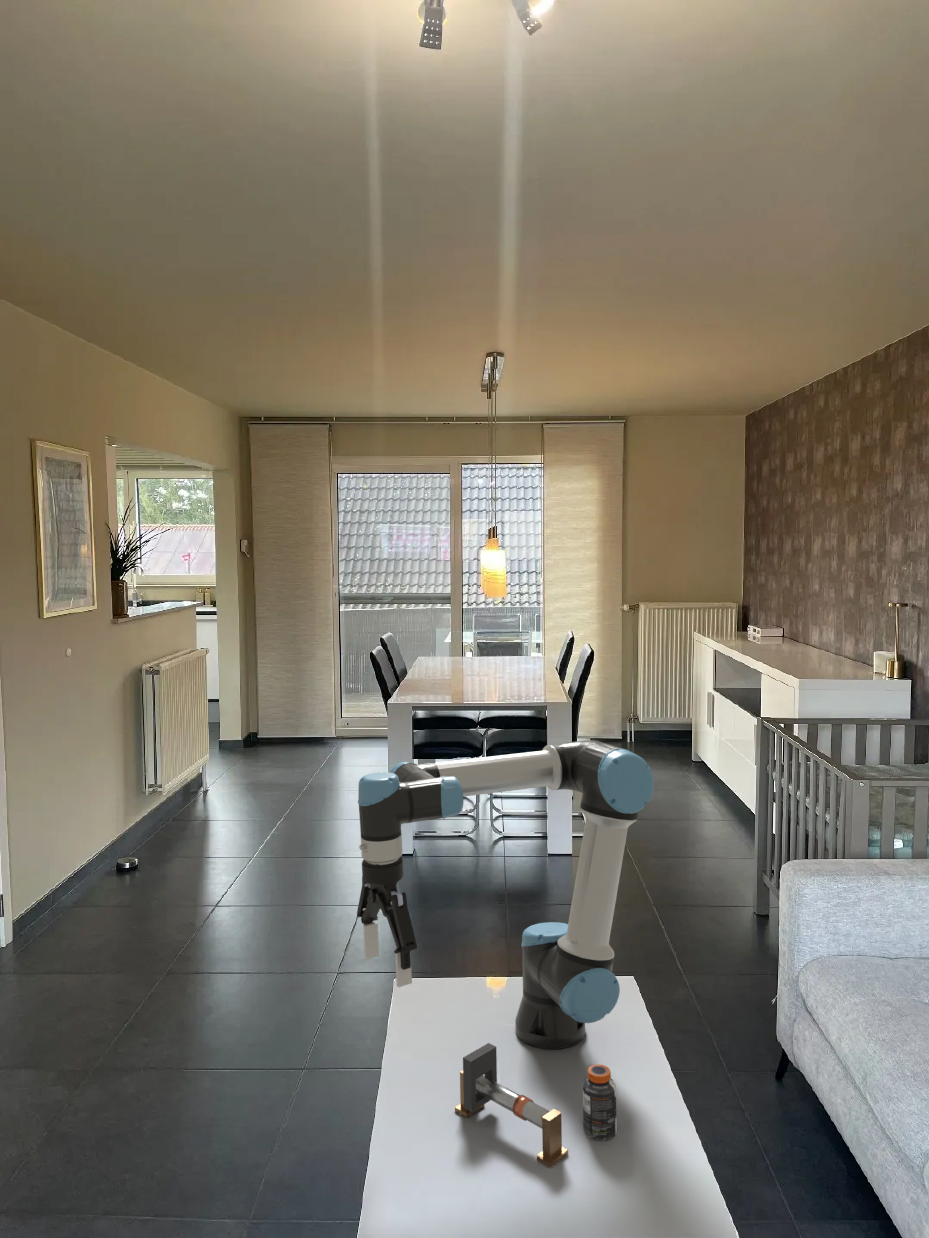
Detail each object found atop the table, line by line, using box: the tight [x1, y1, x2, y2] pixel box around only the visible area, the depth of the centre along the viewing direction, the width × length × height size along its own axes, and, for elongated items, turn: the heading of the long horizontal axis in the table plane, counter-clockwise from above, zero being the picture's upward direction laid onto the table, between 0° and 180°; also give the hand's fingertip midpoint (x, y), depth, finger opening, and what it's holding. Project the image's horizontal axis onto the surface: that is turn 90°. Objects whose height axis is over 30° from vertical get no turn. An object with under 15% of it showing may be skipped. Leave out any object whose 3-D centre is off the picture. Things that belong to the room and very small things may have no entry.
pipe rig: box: [454, 1069, 569, 1169], centre depth 157 cm, size 23×5×8 cm, turn 45°
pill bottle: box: [582, 1063, 618, 1141], centre depth 157 cm, size 6×6×11 cm
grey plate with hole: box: [462, 1042, 498, 1112], centre depth 162 cm, size 2×7×9 cm, turn 135°
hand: (387, 970), depth 163 cm, fingers open, 13 cm apart
